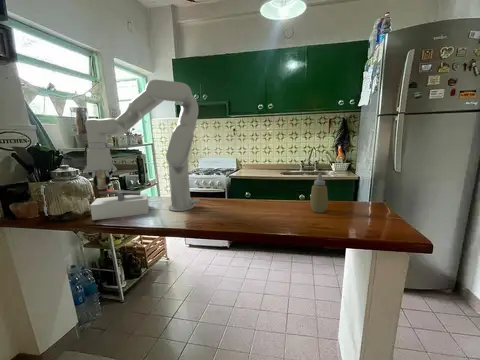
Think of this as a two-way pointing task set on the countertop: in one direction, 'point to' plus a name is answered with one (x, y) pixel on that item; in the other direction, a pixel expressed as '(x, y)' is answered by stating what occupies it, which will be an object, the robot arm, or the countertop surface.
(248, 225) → the countertop surface
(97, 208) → the switch base
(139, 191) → the rocker
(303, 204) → the countertop surface
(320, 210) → the squeeze bottle
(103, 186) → the dowel
